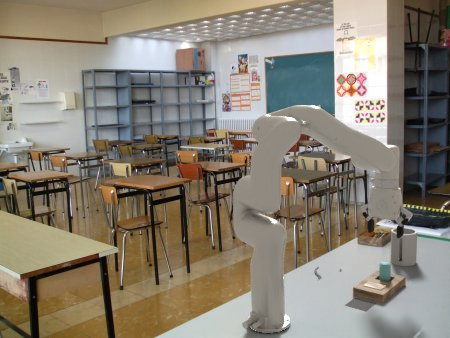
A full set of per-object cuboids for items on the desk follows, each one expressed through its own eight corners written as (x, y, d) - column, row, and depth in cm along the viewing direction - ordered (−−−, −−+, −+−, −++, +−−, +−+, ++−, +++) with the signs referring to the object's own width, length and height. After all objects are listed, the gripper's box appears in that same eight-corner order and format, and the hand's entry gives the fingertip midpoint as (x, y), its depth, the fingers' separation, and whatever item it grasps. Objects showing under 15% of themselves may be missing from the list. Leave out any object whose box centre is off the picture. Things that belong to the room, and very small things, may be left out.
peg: (387, 289, 165) (388, 266, 164) (377, 287, 168) (377, 264, 166) (392, 286, 168) (392, 263, 167) (381, 283, 170) (382, 261, 169)
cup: (412, 257, 194) (413, 227, 192) (419, 266, 185) (420, 234, 183) (388, 257, 195) (388, 227, 193) (393, 266, 186) (394, 234, 184)
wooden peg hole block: (382, 304, 155) (383, 294, 155) (353, 296, 162) (353, 286, 161) (405, 285, 168) (405, 276, 168) (377, 278, 175) (377, 269, 174)
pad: (366, 313, 150) (366, 311, 150) (344, 307, 154) (344, 305, 154) (376, 304, 155) (376, 302, 155) (355, 299, 159) (355, 297, 159)
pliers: (340, 266, 186) (344, 288, 167) (340, 268, 186) (344, 290, 167) (314, 266, 188) (314, 287, 168) (314, 268, 188) (315, 290, 168)
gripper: (356, 182, 165) (355, 232, 168) (408, 188, 154) (406, 242, 156) (366, 178, 170) (365, 227, 173) (417, 184, 159) (415, 236, 162)
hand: (385, 234), depth 165 cm, fingers open, 9 cm apart
